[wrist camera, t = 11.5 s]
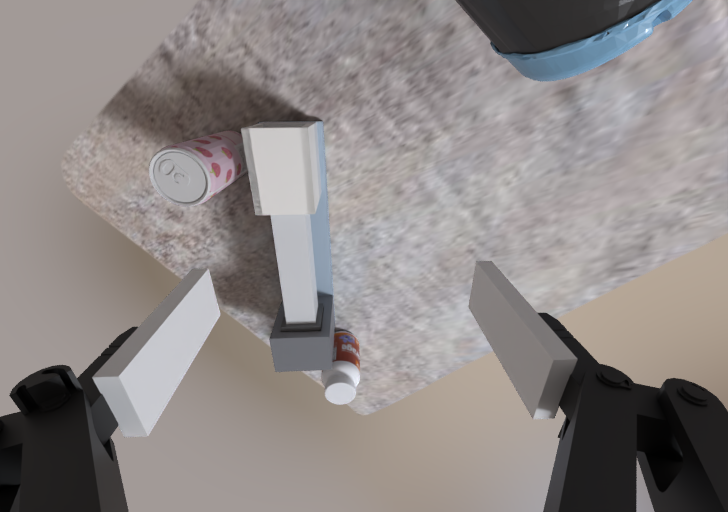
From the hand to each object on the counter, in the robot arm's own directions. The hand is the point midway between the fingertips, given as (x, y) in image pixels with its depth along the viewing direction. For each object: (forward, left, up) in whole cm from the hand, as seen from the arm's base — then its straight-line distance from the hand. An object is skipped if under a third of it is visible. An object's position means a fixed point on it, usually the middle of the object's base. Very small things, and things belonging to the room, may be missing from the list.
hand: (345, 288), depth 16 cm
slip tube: (+12, -7, -26) cm, 30 cm away
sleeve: (-2, -7, -30) cm, 31 cm away
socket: (+23, -7, -30) cm, 38 cm away
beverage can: (-2, -15, -31) cm, 34 cm away
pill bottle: (+31, -2, -31) cm, 44 cm away
